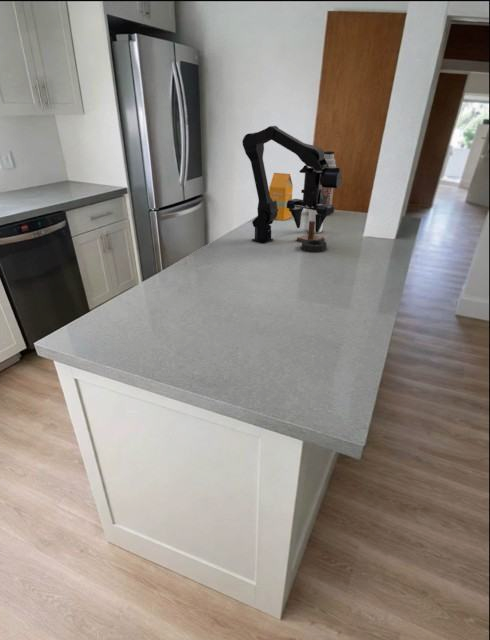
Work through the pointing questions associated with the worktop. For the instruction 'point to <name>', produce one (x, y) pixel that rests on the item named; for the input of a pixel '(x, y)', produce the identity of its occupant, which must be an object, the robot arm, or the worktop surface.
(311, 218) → the can
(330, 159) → the thermos bottle
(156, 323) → the worktop surface
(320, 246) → the rubber ring
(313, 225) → the copper peg on plate
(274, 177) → the orange juice
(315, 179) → the robot arm
